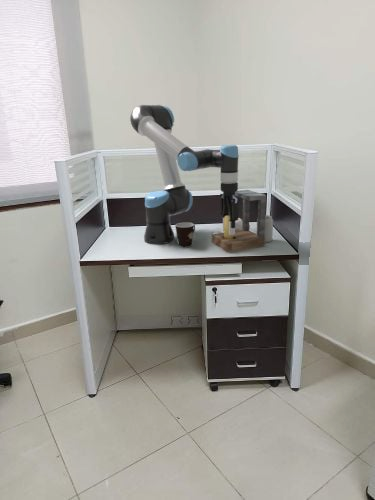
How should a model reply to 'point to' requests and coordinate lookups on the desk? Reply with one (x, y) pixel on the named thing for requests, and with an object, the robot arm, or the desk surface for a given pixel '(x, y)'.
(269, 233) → the can
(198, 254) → the desk surface
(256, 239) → the socket board
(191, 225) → the coffee mug
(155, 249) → the desk surface
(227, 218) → the peg
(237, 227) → the white rounded lump
